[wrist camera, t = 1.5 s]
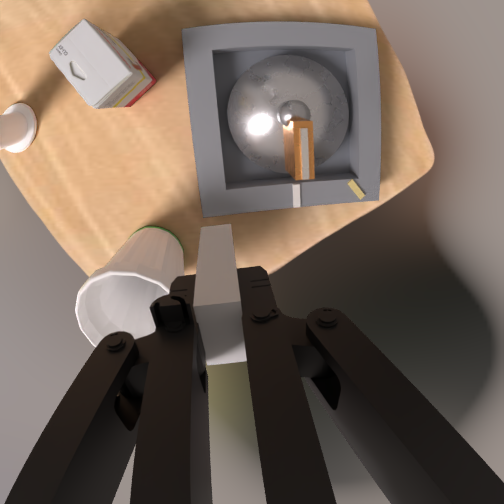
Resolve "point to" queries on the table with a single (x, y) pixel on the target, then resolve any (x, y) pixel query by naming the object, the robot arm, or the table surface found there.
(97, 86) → the ink box
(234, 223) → the table surface
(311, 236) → the table surface
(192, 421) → the robot arm
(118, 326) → the cup
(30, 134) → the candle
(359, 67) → the housing
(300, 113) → the dial
